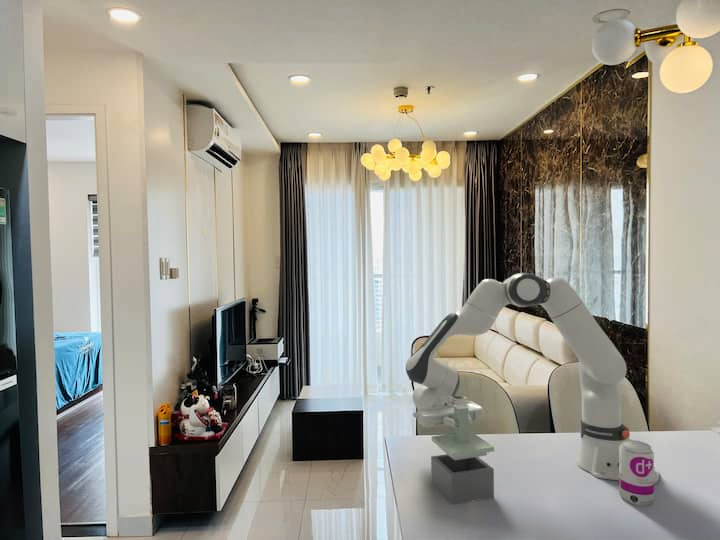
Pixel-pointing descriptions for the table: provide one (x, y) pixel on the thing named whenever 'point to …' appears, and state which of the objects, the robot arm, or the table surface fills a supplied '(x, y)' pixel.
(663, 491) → the table surface
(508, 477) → the table surface
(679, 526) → the table surface
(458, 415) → the lid
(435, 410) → the robot arm
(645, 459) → the supplement can
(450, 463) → the tub
